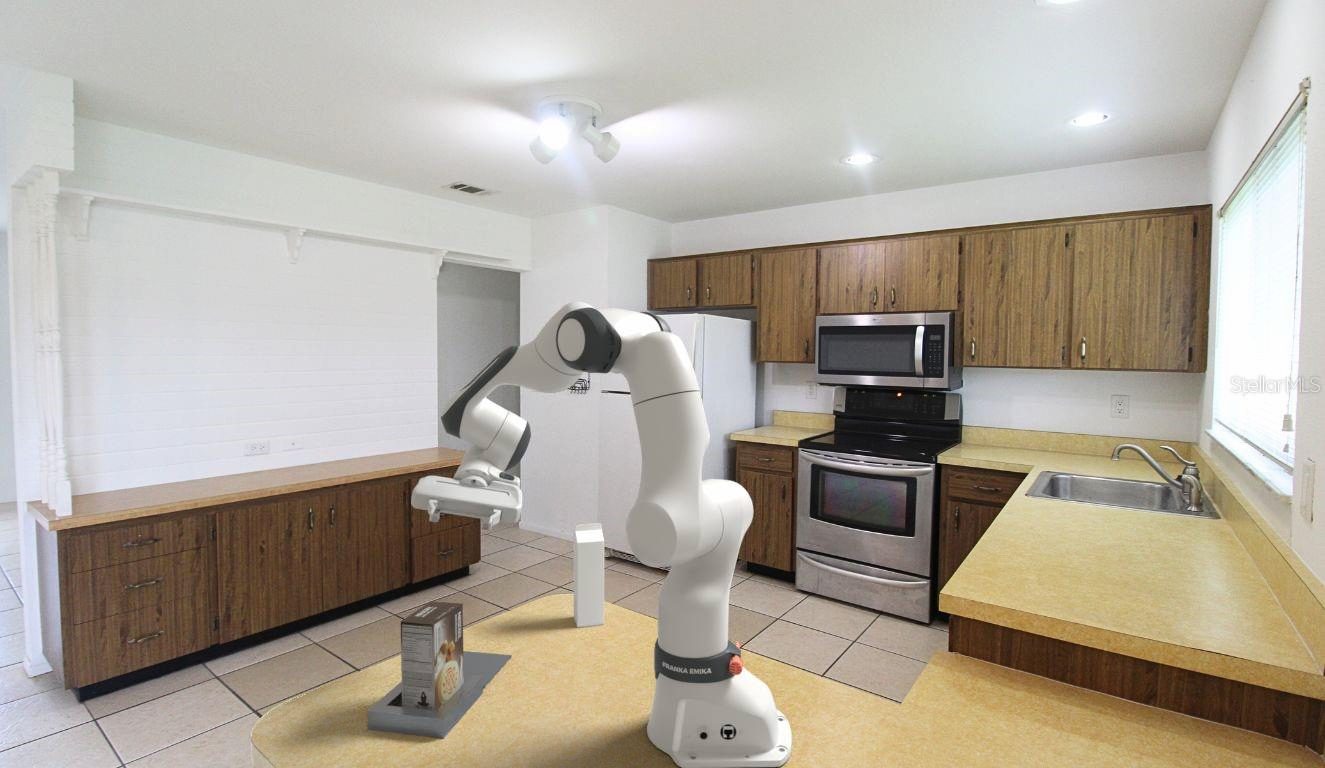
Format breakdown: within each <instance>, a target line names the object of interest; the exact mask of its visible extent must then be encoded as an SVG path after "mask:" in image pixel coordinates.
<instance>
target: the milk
mask: <svg viewBox="0 0 1325 768" xmlns="http://www.w3.org/2000/svg"><path fill="white" fill-rule="evenodd" d="M602 527H603V525H602V523H601V522H596V523H595V522H594V523H584V524H582V523H580V524H576V525H575V529H574V531H575V532H574V533H573V619H574V621H575V624H576V627H577V628H584V627H594V626H602V625H605V539H604V534H603V528H602Z"/></svg>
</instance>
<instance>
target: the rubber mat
mask: <svg viewBox="0 0 1325 768" xmlns="http://www.w3.org/2000/svg"><path fill="white" fill-rule="evenodd" d="M512 657H513V655H512V654H503V653H502V654H501V653H490V652H481V651H480V652H479V651H477V652H476V651H469V650H467V651H466V650H463V659H464V665H463V666H464V683H465V682H466V681H467V680H468V679H469V678H470V677H471V676H472V675H477V676H483V689H485V688H487V686H488V685H489V684H490V682H492V680H493V679H494V678H495V677H496V676H497V674H499V672H500V671H501V670H502V669H503V668H504V667H505V665H506V664H507V663H508V662H509V661H510V660H511V658H512ZM509 659H510V660H509ZM508 660H509V661H508ZM507 661H508V662H507ZM506 662H507V663H506ZM502 667H503V668H502ZM501 668H502V669H501ZM500 669H501V670H500ZM495 675H496V676H495ZM494 676H495V677H494ZM488 683H489V684H488ZM487 684H488V685H487ZM486 685H487V686H486Z"/></svg>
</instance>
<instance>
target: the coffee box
mask: <svg viewBox="0 0 1325 768" xmlns="http://www.w3.org/2000/svg"><path fill="white" fill-rule="evenodd" d="M463 605H464V603H459V602H446V601H429V602H427V603H426V604H425V605H423V606H422V607H420V608H419V609H417V610H416V611H414V612H412V613H411V614H409V615H408V616H407V617H405V618H404V619H402V620H401V621H400V653H401V654H400V663H401V664H400V665H401V667H400V670H401V681H402V707H406V708H416V709H426V710H435V711H439V710H440V709H441V708H442V707H443V706H444V704H445V703H446V702H447V701H448V700H449V699H450V698H451V697H452V696H453V695H454V694H455V693H456V692H457V691H458V690H459V689H460V688H461V687H462V686H463V684H464V666H463V665H464V659H463V651H464V611H463V610H464V607H463Z"/></svg>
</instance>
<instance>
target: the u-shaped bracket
mask: <svg viewBox="0 0 1325 768" xmlns="http://www.w3.org/2000/svg"><path fill="white" fill-rule="evenodd" d="M482 693H483V694H484V688H483V676H477V675H472V676H471V677H470V678H469V679H468V680H467V681H466V682H465V683H464V684H463V686H462V687H461V688H460V689H459V690H458V691H457V692H456V693H455V694H454V695H453V696H452V697H451V698H450V699H449V700H448V701H447V702H446V703H445V704H444V706H443V707H442V708H441V709H440V710H439V711H435V710H426V709H416V708H406V707H402V680H401V681H400V682H399V683H397V685H395V686H394V687H393V688H392V689H391V690H390V691H389V692H387V693H386V694H385V695H384V696H383V697H381V698H380V699H379V700H378V701H377V702H376V703H375V704H374V705H372V706H371V707H370V708H369V709H368V710H367V711H366V723H367V725H366V726H367V730H368V731H375V732H376V731H377V732H382V733H383V732H386V733H394V734H402V735H411V736H420V737H431V738H439V739H445V738H446V736H447V735H448V734H449V733H450V732H451V731H452V730H453V728H454V727H455V726H456V725H457V724H458V723H459V722H460V720H461V719H462V718H463V716H465V715H466V713H467V712H468V711H469V710H470V709H471V708H472V706H474V704H475V703H476V702H477V701H478V700H479V698H480V697H481V696H482V695H483V694H482Z"/></svg>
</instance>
